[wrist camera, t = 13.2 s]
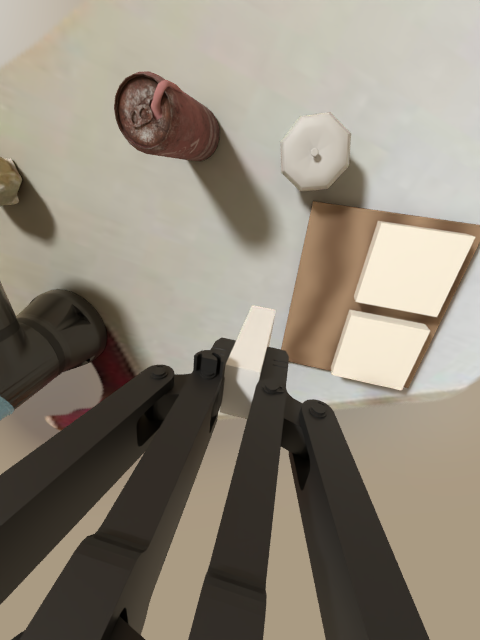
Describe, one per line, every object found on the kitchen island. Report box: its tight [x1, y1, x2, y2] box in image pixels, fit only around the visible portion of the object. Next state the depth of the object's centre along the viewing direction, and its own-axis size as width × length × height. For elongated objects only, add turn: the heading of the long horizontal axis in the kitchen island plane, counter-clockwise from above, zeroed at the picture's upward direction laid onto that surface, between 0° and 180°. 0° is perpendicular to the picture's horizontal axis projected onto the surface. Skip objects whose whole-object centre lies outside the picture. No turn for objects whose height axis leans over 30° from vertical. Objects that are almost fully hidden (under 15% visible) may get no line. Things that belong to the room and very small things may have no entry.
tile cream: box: [354, 221, 475, 317], centre depth 36 cm, size 2×10×10 cm
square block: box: [331, 310, 430, 390], centre depth 42 cm, size 2×10×10 cm
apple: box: [280, 112, 351, 191], centre depth 33 cm, size 8×8×7 cm
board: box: [281, 201, 480, 388], centre depth 41 cm, size 20×24×2 cm
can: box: [114, 72, 219, 161], centre depth 31 cm, size 6×6×14 cm
